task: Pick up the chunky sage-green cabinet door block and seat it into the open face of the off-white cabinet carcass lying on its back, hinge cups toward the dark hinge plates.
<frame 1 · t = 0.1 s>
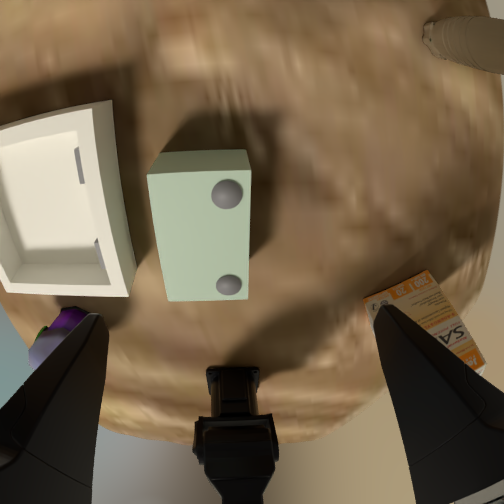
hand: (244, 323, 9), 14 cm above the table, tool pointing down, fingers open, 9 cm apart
supplement box: (396, 294, 31), on the table
cabinet carcass: (51, 199, 20), on the table
handle: (434, 38, 15), on the table
potion bottle: (80, 322, 29), on the table
door panel: (205, 211, 23), on the table
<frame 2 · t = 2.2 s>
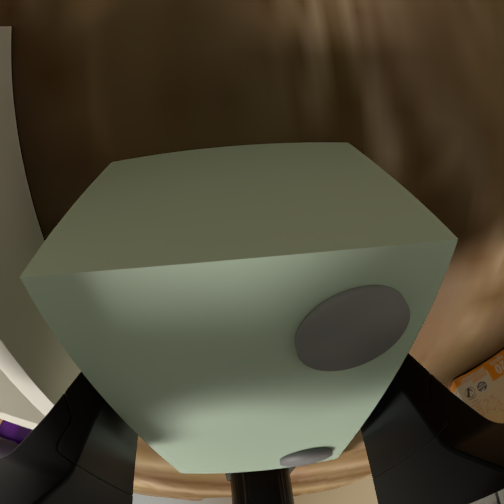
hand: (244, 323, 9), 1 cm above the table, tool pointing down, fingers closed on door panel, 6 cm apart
supplement box: (486, 364, 18), on the table
potion bottle: (43, 414, 16), on the table
door panel: (241, 299, 10), on the table, touching gripper
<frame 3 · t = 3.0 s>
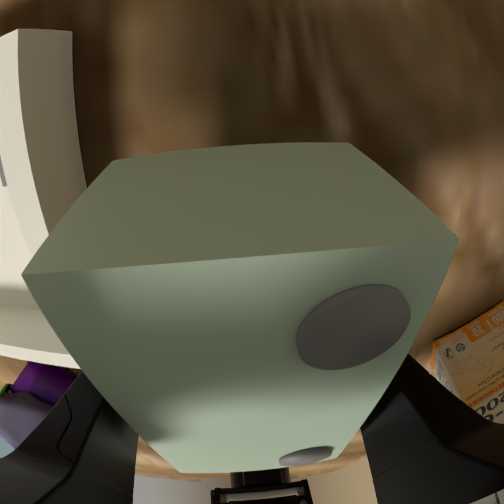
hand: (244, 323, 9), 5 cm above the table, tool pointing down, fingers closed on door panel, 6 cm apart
supplement box: (465, 331, 21), on the table
potion bottle: (55, 374, 19), on the table
door panel: (241, 298, 10), point 4 cm above the table, touching gripper
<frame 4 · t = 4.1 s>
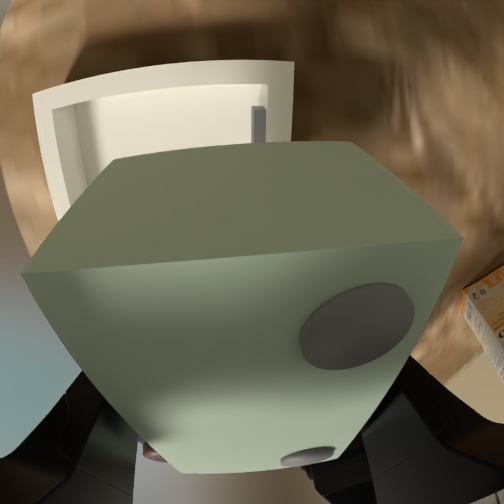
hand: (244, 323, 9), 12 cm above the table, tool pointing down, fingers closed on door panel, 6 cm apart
supplement box: (484, 284, 28), on the table
cabinet carcass: (170, 179, 18), on the table
door panel: (243, 298, 10), point 11 cm above the table, touching gripper
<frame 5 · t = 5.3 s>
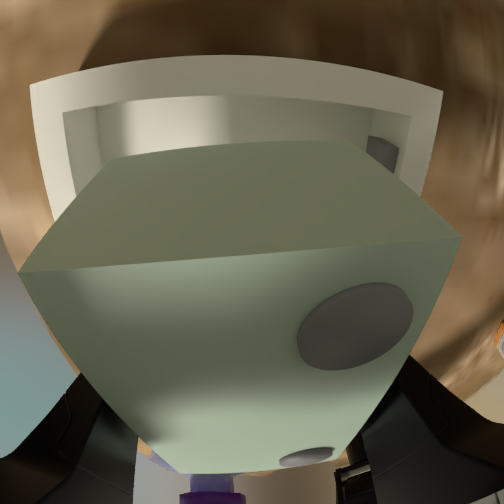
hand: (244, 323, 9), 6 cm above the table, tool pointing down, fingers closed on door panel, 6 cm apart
cabinet carcass: (233, 218, 14), on the table
potion bottle: (209, 383, 23), on the table
door panel: (241, 298, 10), point 5 cm above the table, touching gripper
when the fingers open (4 cm above the table, at t = 6.2 s): door panel drops 2 cm, resting on cabinet carcass.
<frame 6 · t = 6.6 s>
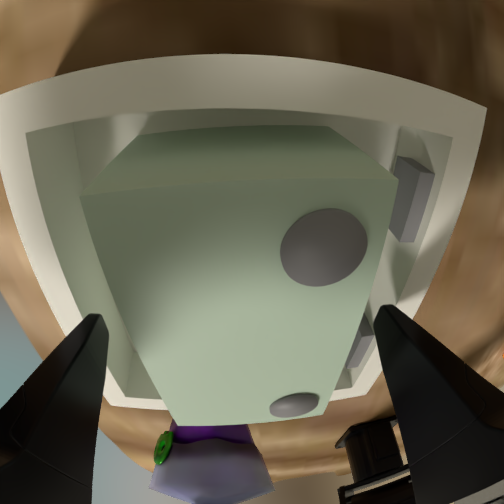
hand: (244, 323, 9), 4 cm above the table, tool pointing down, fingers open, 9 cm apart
cabinet carcass: (237, 247, 12), on the table
potion bottle: (209, 407, 21), on the table
door panel: (238, 258, 12), point 1 cm above the table, touching cabinet carcass
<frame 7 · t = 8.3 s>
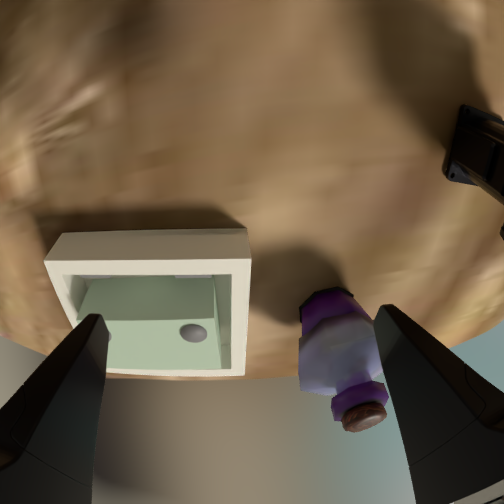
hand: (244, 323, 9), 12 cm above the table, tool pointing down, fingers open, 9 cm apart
cabinet carcass: (159, 298, 25), on the table
potion bottle: (326, 307, 28), on the table
door panel: (157, 304, 24), point 1 cm above the table, touching cabinet carcass
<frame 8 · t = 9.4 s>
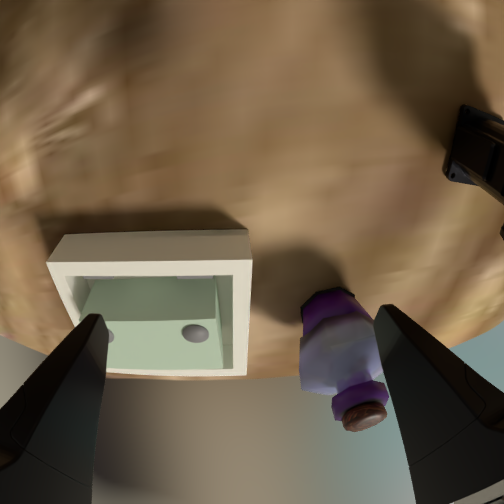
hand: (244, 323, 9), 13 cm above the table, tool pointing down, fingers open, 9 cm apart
cabinet carcass: (161, 298, 25), on the table
potion bottle: (327, 307, 28), on the table
door panel: (159, 305, 24), point 1 cm above the table, touching cabinet carcass
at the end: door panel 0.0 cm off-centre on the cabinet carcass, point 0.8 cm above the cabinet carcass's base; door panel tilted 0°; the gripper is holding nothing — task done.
